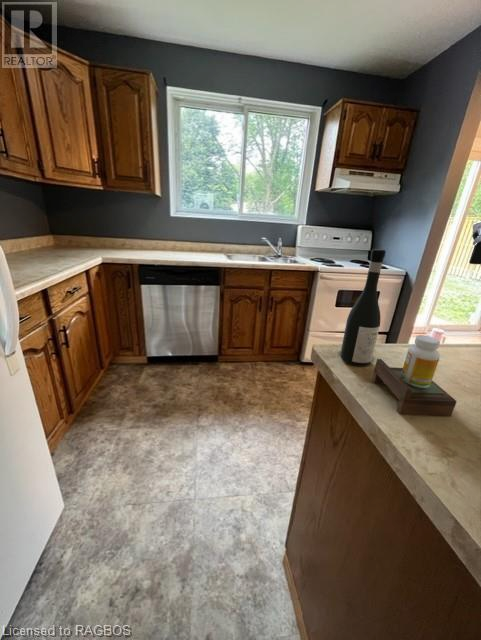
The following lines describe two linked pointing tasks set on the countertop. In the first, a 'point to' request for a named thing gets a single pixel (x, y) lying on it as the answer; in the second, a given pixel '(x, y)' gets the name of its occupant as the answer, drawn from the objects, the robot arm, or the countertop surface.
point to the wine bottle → (364, 318)
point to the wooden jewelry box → (414, 393)
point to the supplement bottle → (421, 362)
